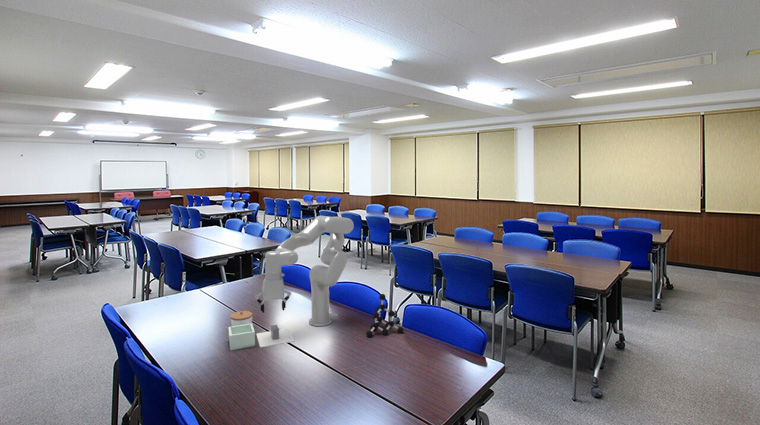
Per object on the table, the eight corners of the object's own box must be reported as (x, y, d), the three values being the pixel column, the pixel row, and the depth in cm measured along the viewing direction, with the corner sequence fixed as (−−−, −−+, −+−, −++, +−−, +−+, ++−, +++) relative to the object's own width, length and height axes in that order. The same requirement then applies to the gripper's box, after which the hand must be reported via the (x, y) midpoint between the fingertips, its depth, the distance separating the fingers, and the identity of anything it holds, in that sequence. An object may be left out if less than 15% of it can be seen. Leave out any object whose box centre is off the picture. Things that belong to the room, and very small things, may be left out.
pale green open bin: (252, 336, 186) (252, 323, 185) (255, 346, 176) (254, 331, 175) (228, 340, 181) (228, 326, 181) (230, 350, 171) (229, 335, 171)
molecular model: (376, 322, 206) (376, 287, 204) (404, 332, 192) (405, 295, 190) (353, 332, 193) (353, 294, 191) (381, 344, 179) (382, 303, 177)
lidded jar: (245, 334, 189) (245, 316, 188) (226, 332, 191) (226, 314, 190) (256, 325, 200) (256, 308, 199) (238, 323, 202) (238, 307, 201)
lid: (288, 330, 196) (287, 319, 195) (294, 342, 181) (294, 330, 181) (256, 335, 189) (255, 324, 188) (260, 348, 175) (259, 336, 174)
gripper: (289, 273, 189) (289, 306, 190) (253, 276, 182) (253, 310, 183) (292, 276, 182) (292, 311, 183) (255, 280, 175) (255, 315, 176)
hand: (273, 310), depth 183 cm, fingers open, 9 cm apart
